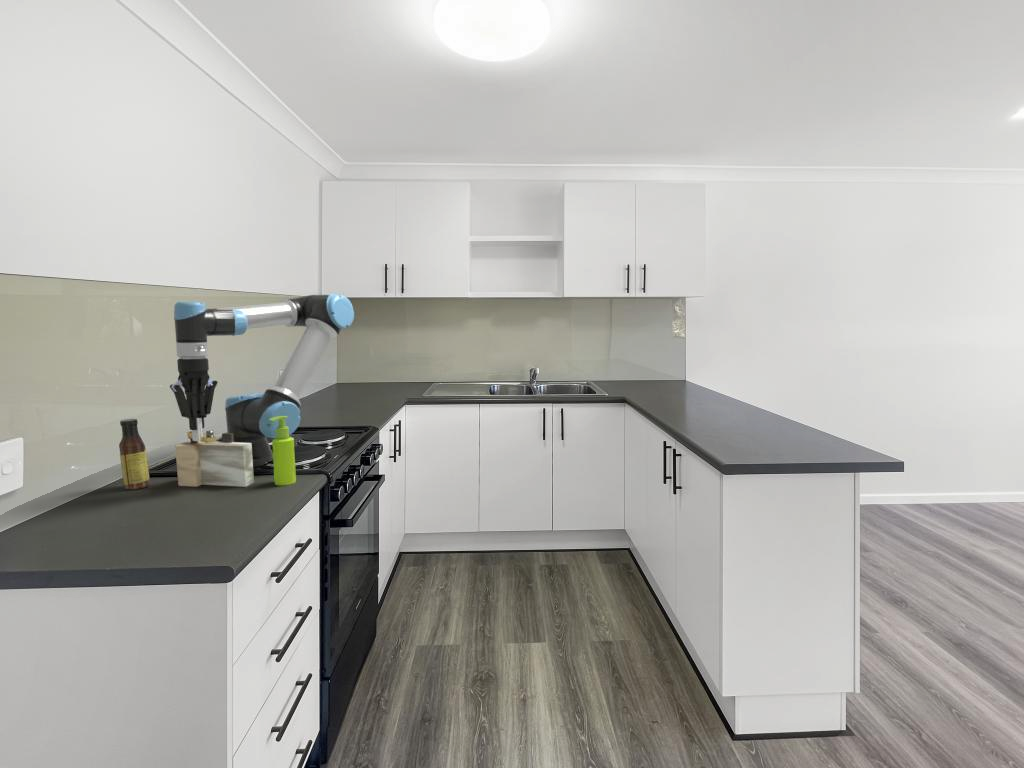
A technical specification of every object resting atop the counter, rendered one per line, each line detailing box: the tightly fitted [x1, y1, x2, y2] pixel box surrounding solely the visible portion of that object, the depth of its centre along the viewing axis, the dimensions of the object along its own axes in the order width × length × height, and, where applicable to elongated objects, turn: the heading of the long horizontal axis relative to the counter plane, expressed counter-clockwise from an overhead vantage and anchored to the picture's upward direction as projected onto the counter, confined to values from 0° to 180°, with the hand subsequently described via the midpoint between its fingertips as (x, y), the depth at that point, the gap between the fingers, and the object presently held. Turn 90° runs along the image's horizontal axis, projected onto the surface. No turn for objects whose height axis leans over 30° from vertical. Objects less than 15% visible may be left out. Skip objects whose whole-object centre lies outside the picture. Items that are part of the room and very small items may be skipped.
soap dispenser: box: [269, 416, 297, 486], centre depth 164 cm, size 6×7×20 cm
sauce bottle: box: [118, 418, 150, 491], centre depth 160 cm, size 7×6×20 cm
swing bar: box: [186, 430, 217, 444], centre depth 161 cm, size 13×3×3 cm, turn 52°
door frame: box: [174, 432, 255, 488], centre depth 164 cm, size 8×20×15 cm, turn 81°
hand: (197, 440), depth 159 cm, fingers closed
